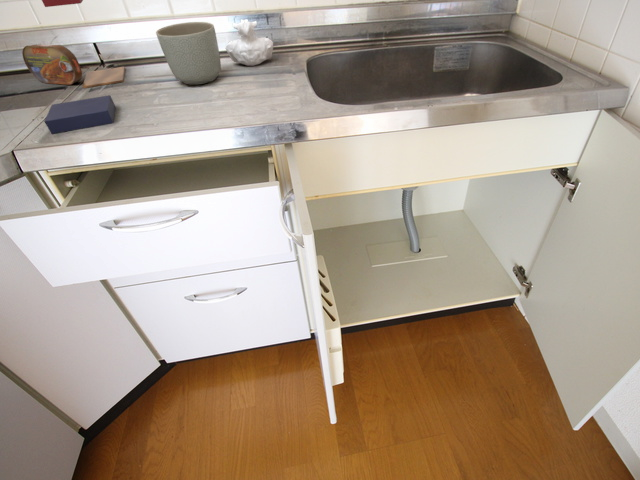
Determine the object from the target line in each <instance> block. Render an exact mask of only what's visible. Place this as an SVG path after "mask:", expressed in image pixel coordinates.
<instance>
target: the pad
mask: <svg viewBox="0 0 640 480" xmlns="http://www.w3.org/2000/svg"><path fill="white" fill-rule="evenodd" d="M125 73H126V67H125V66H119V67H113V68H112V67H111V68H104V69H99V70H92V71H87V72H86V75H85V77H84V80H83V82H82V85H81V87H82V89H88V88H93V87H94V88H95V87H100V86H101V87H102V86H108V85H112V84H120V83H124V80H125Z"/></svg>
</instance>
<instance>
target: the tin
mask: <svg viewBox="0 0 640 480" xmlns="http://www.w3.org/2000/svg"><path fill="white" fill-rule="evenodd" d="M21 53H22V59H23V62H24V64H25V66H26V68H27V69H28V71H29V72H30V73H31V74H32V75H33V77H35V78H36V80H38V81H40V82H41V83H43V84H49V85H64V86H70V85H73V84H76V83H78V82H79V81H81V80H82V77H83V70H82V68H81V64H80V63H79V61H78V59H77V56H75V54H74V53H73V52H72V51H71V50H70V49H68V48H67V46H63V45H61V44H60V45H59V44H37V43H36V44H31V45H25V46H24V47H23V48H22V51H21Z"/></svg>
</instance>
